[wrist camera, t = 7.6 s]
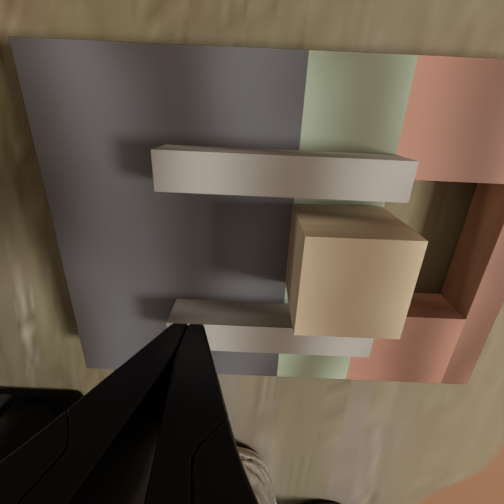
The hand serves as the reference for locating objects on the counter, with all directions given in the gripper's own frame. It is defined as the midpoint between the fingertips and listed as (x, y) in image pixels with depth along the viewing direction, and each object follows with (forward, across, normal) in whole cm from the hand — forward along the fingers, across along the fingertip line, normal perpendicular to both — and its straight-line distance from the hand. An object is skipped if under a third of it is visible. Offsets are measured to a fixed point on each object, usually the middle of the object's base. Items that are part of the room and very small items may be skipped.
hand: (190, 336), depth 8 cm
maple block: (+7, -5, 0) cm, 8 cm away
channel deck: (+9, -3, 0) cm, 10 cm away
